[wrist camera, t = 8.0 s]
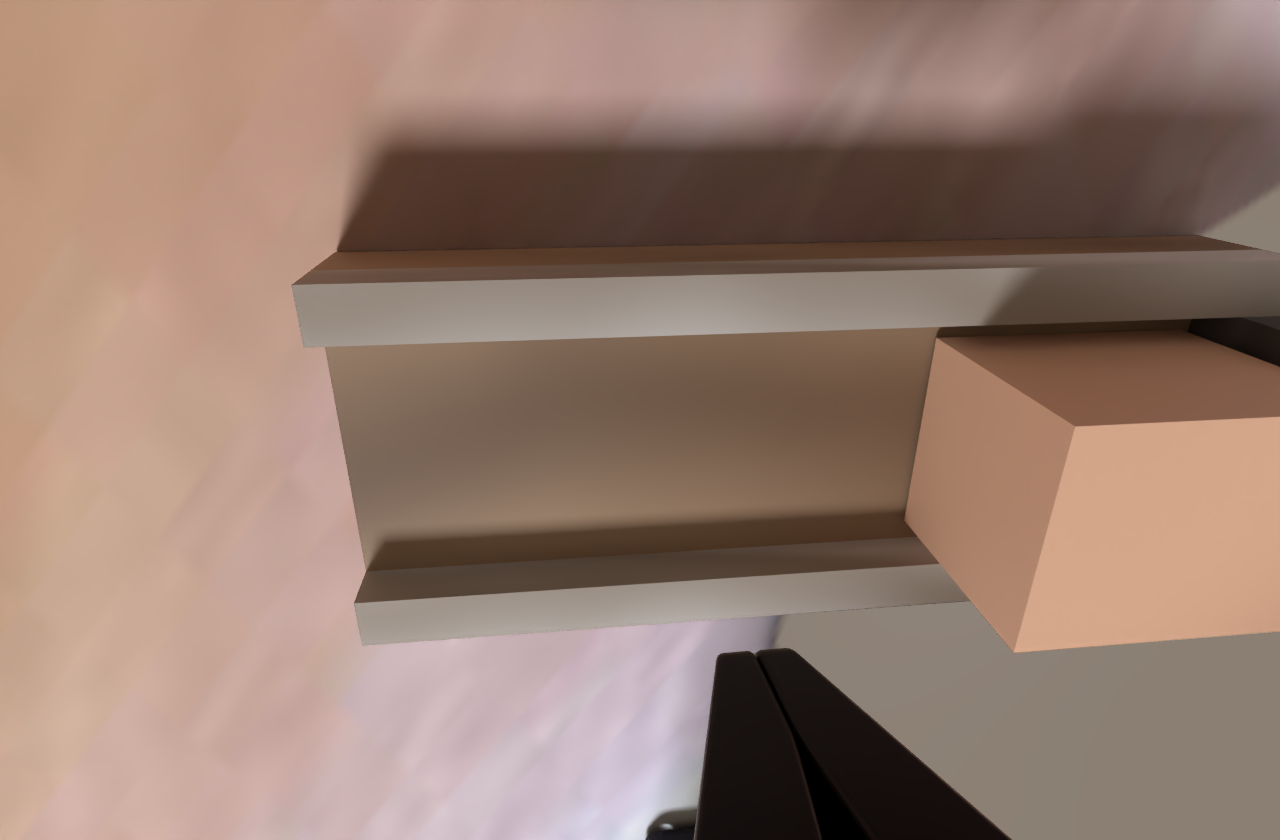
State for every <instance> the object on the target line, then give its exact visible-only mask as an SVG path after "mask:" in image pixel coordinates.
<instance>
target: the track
mask: <svg viewBox="0 0 1280 840" xmlns="http://www.w3.org/2000/svg"><path fill="white" fill-rule="evenodd" d="M292 290H293V295H294V300H295V305H296V310H297V315H298V320H299V325H300V330H301V336H302V341H303V346H304V347H325V349H326V355H327V360H328V366H329V371H330V377H331V382H332V388H333V393H334V398H335V404H336V409H337V415H338V420H339V426H340V431H341V437H342V442H343V448H344V453H345V459H346V464H347V469H348V475H349V480H350V486H351V491H352V497H353V502H354V508H355V513H356V519H357V524H358V529H359V535H360V540H361V546H362V551H363V557H364V562H365V568H366V573H365V576H364V578H363V581H362V584H361V586H360V589H359V592H358V594H357V597H356V599H355V602H354V606H355V611H356V616H357V622H358V627H359V632H360V637H361V642H362V646H364V645H378V644H391V643H405V642H419V641H432V640H446V639H460V638H473V637H487V636H500V635H514V634H528V633H541V632H555V631H569V630H582V629H596V628H609V627H623V626H637V625H650V624H664V623H678V622H691V621H705V620H718V619H732V618H746V617H759V616H773V615H787V614H800V613H814V612H827V611H841V610H854V609H868V608H881V607H895V606H909V605H922V604H936V603H949V602H963V601H970V600H969V598H968V597H967V596H966V595H965V593H964V592H963V591H962V590H961V589H960V587H959V586H958V585H957V584H956V583H955V581H954V580H953V579H952V578H951V577H950V575H949V574H948V573H947V572H946V570H945V569H944V568H943V567H942V566H941V564H940V563H939V562H938V561H937V560H936V558H935V557H934V556H933V555H932V554H931V552H930V551H929V550H928V549H927V547H926V546H925V545H924V544H923V543H922V541H921V540H920V539H919V538H918V537H917V535H916V534H915V533H914V532H913V531H912V529H911V528H910V527H909V526H908V524H907V523H906V522H905V521H904V518H905V512H906V506H907V501H908V495H909V489H910V484H911V478H912V472H913V467H914V461H915V455H916V450H917V444H918V438H919V433H920V427H921V421H922V416H923V410H924V404H925V399H926V393H927V387H928V382H929V376H930V370H931V365H932V359H933V353H934V348H935V342H936V338H946V337H976V336H1005V335H1035V334H1064V333H1094V332H1123V331H1153V330H1183V331H1186V332H1189V333H1191V334H1194V335H1196V336H1199V337H1202V338H1204V339H1207V340H1210V341H1212V342H1215V343H1218V344H1220V345H1223V346H1226V347H1228V348H1231V349H1233V350H1236V351H1239V352H1241V353H1244V354H1247V355H1249V356H1252V357H1255V358H1257V359H1260V360H1263V361H1265V362H1268V363H1271V364H1273V365H1276V366H1278V367H1280V254H1279V253H1275V252H1270V251H1265V250H1261V249H1257V248H1252V247H1248V246H1244V245H1239V244H1234V243H1230V242H1225V241H1221V240H1216V239H1212V238H1208V237H1203V236H1199V235H1193V236H1142V237H1090V238H1039V239H987V240H936V241H885V242H833V243H782V244H730V245H679V246H627V247H576V248H524V249H473V250H421V251H370V252H335V253H333V254H332V255H331V256H329V257H328V258H327V259H325V260H324V261H323V262H321V263H320V264H319V265H318V266H316V267H315V268H314V269H312V270H311V271H310V272H308V273H307V274H306V275H304V276H303V277H302V278H300V279H299V280H298V281H296V282H295V283H294V284H292Z"/></svg>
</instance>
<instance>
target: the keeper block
mask: <svg viewBox="0 0 1280 840" xmlns="http://www.w3.org/2000/svg"><path fill="white" fill-rule="evenodd" d="M904 521H905V522H906V523H907V524H908V526H909V527H910V528H911V529H912V531H913V532H914V533H915V534H916V535H917V537H918V538H919V539H920V540H921V541H922V543H923V544H924V545H925V546H926V547H927V549H928V550H929V551H930V552H931V554H932V555H933V556H934V557H935V558H936V560H937V561H938V562H939V563H940V564H941V566H942V567H943V568H944V569H945V570H946V572H947V573H948V574H949V575H950V577H951V578H952V579H953V580H954V581H955V583H956V584H957V585H958V586H959V587H960V589H961V590H962V591H963V592H964V593H965V595H966V596H967V597H968V598H969V600H970V601H971V602H972V603H973V604H974V606H975V607H976V608H977V609H978V610H979V612H980V613H981V614H982V615H983V616H984V618H985V619H986V620H987V621H988V622H989V623H990V625H991V626H992V627H993V628H994V630H995V631H996V632H997V633H998V635H999V636H1000V637H1001V638H1002V639H1003V641H1004V642H1005V643H1006V644H1007V646H1009V648H1010V649H1011V650H1012V652H1013V653H1020V652H1033V651H1044V650H1056V649H1068V648H1081V647H1094V646H1105V645H1118V644H1130V643H1143V642H1155V641H1167V640H1178V639H1190V638H1191V639H1192V638H1204V637H1216V636H1228V635H1241V634H1253V633H1265V632H1276V631H1280V367H1278V366H1276V365H1273V364H1271V363H1268V362H1265V361H1263V360H1260V359H1257V358H1255V357H1252V356H1249V355H1247V354H1244V353H1241V352H1239V351H1236V350H1233V349H1231V348H1228V347H1226V346H1223V345H1220V344H1218V343H1215V342H1212V341H1210V340H1207V339H1204V338H1202V337H1199V336H1196V335H1194V334H1191V333H1189V332H1186V331H1183V330H1153V331H1123V332H1094V333H1064V334H1035V335H1005V336H976V337H946V338H936V342H935V348H934V353H933V359H932V365H931V370H930V376H929V382H928V387H927V393H926V399H925V404H924V410H923V416H922V421H921V427H920V433H919V438H918V444H917V450H916V455H915V461H914V467H913V472H912V478H911V484H910V489H909V495H908V501H907V506H906V512H905V518H904Z"/></svg>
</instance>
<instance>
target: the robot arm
mask: <svg viewBox="0 0 1280 840" xmlns="http://www.w3.org/2000/svg"><path fill="white" fill-rule="evenodd" d="M646 840H1012V839H1011V838H1009V837H1008V836H1007V835H1006V834H1005V833H1004V832H1002V831H1001V830H1000V829H999V828H998V827H997V826H995V825H994V824H993V823H992V822H991V821H990V820H989V819H988V818H986V817H985V816H984V815H983V814H982V813H981V812H979V811H978V810H977V809H976V808H975V807H974V806H973V805H971V804H970V803H969V802H968V801H967V800H966V799H964V798H963V797H962V796H961V795H960V794H959V793H958V792H956V791H955V790H954V789H953V788H952V787H951V786H950V785H948V784H947V783H946V782H945V781H944V780H943V779H942V778H940V777H939V776H938V775H937V774H936V773H935V772H933V771H932V770H931V769H930V768H929V767H928V766H927V765H925V764H924V763H923V762H922V761H921V760H920V759H919V758H917V757H916V756H915V755H914V754H913V753H911V752H910V751H909V750H908V749H907V748H906V747H905V746H904V745H902V744H901V743H900V742H899V741H898V740H897V739H896V738H894V737H893V736H892V735H891V734H890V733H889V732H887V731H886V730H885V729H884V728H883V727H882V726H880V725H879V724H878V723H877V722H876V721H875V720H874V719H873V718H871V717H870V716H869V715H868V714H867V713H865V712H864V711H863V710H862V709H861V708H859V706H858V705H856V704H855V703H854V702H853V701H852V700H851V699H850V698H848V697H847V696H846V695H845V694H843V692H841V691H840V690H839V689H838V688H837V687H836V686H835V685H833V684H832V683H831V682H830V681H829V680H828V679H827V678H825V677H824V676H823V675H822V674H821V673H820V672H818V671H817V670H816V669H815V668H814V667H813V666H812V665H810V664H809V663H808V662H807V661H806V660H805V659H803V658H802V657H801V656H800V655H799V654H798V653H797V652H795V651H794V650H791V649H788V648H783V649H769V650H760V651H758V652H757V653H755V655H754V654H753V653H751V652H750V651H744V652H731V653H722V654H719V655H718V657H717V659H716V666H715V674H714V682H713V690H712V698H711V706H710V714H709V722H708V730H707V738H706V746H705V754H704V762H703V770H702V778H701V786H700V793H699V801H698V809H697V817H696V825H695V827H694V828H684V829H674V830H665V831H659V832H655V833H653V834H651V835H649V836H648V837H647V838H646Z"/></svg>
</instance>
